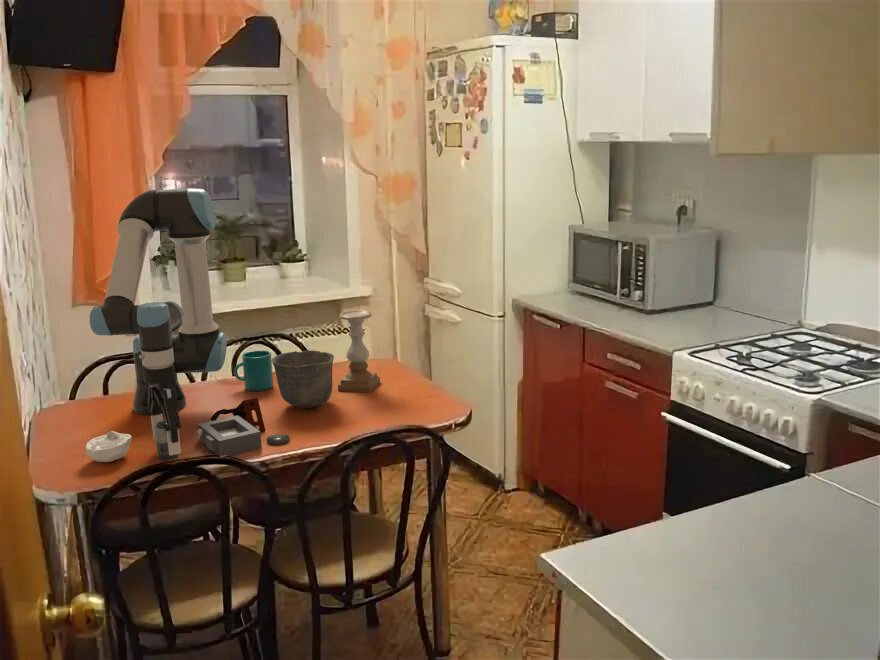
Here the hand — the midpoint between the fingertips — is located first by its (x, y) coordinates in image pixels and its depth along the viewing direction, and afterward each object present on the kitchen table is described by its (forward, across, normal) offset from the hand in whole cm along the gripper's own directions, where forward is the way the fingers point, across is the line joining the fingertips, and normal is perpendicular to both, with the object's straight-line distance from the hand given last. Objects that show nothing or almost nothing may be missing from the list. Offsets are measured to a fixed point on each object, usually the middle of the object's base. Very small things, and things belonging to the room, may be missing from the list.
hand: (166, 446), depth 211 cm
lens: (+3, 0, 0) cm, 3 cm away
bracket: (+3, -11, +23) cm, 25 cm away
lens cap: (+3, +7, +27) cm, 28 cm away
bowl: (+3, -16, +46) cm, 48 cm away
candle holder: (+2, -22, +68) cm, 71 cm away
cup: (+2, -42, +40) cm, 59 cm away
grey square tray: (+3, +1, +16) cm, 16 cm away
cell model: (+3, -8, -12) cm, 15 cm away
